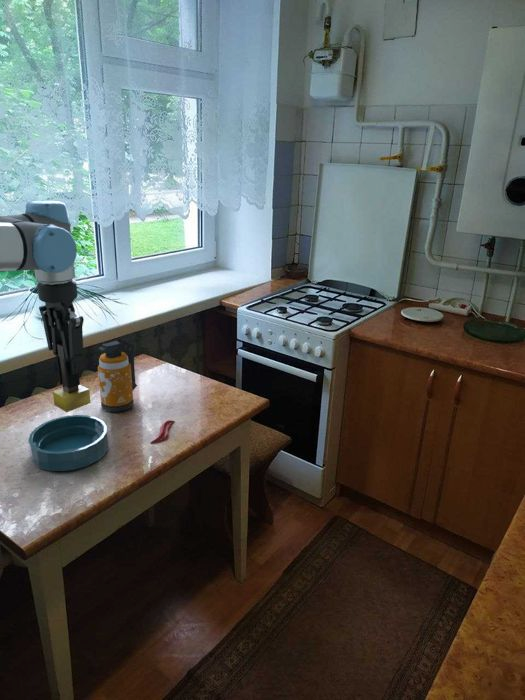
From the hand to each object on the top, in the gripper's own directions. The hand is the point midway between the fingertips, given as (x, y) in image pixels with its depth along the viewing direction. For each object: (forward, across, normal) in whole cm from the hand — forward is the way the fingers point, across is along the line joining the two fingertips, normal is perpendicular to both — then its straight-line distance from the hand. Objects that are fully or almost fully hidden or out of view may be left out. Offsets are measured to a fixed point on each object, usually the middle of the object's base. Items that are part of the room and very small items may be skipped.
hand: (69, 384), depth 109 cm
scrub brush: (+5, 0, 0) cm, 5 cm away
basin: (+21, +5, -1) cm, 21 cm away
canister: (+21, +17, -24) cm, 36 cm away
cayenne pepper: (+21, -4, -22) cm, 31 cm away
